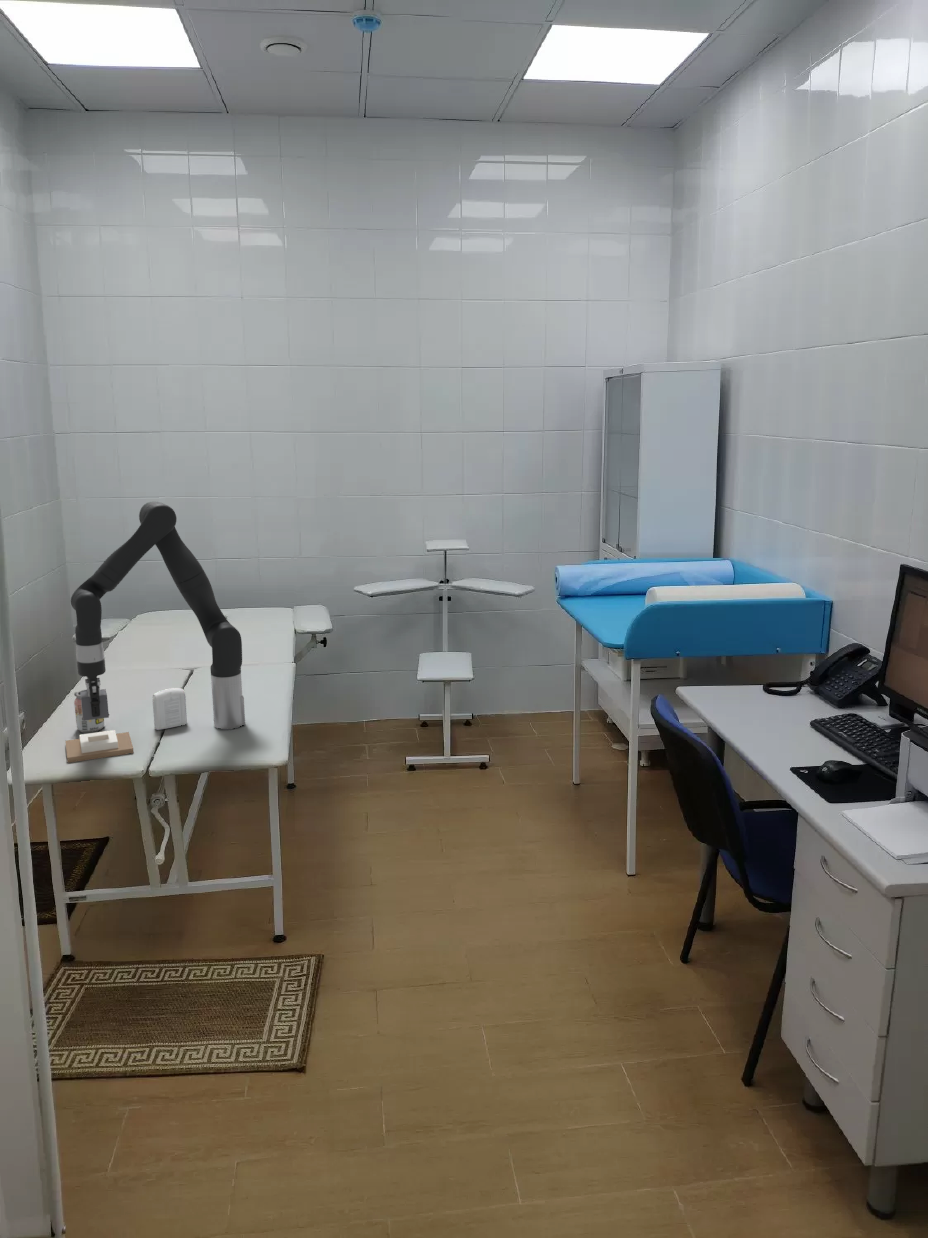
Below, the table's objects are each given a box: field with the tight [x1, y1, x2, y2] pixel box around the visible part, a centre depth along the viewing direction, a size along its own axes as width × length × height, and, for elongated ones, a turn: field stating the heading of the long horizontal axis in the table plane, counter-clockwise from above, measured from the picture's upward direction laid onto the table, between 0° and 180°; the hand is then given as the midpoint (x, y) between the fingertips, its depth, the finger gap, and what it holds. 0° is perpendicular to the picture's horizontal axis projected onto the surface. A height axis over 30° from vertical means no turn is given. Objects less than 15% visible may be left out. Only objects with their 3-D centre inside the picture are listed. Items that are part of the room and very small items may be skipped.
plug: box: [80, 688, 110, 722], centre depth 277 cm, size 7×6×8 cm
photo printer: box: [152, 687, 188, 731], centre depth 297 cm, size 10×4×12 cm, turn 125°
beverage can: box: [73, 688, 105, 734], centre depth 295 cm, size 9×8×12 cm
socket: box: [65, 729, 134, 764], centre depth 280 cm, size 18×14×4 cm
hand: (95, 712), depth 278 cm, fingers closed on plug, 5 cm apart
